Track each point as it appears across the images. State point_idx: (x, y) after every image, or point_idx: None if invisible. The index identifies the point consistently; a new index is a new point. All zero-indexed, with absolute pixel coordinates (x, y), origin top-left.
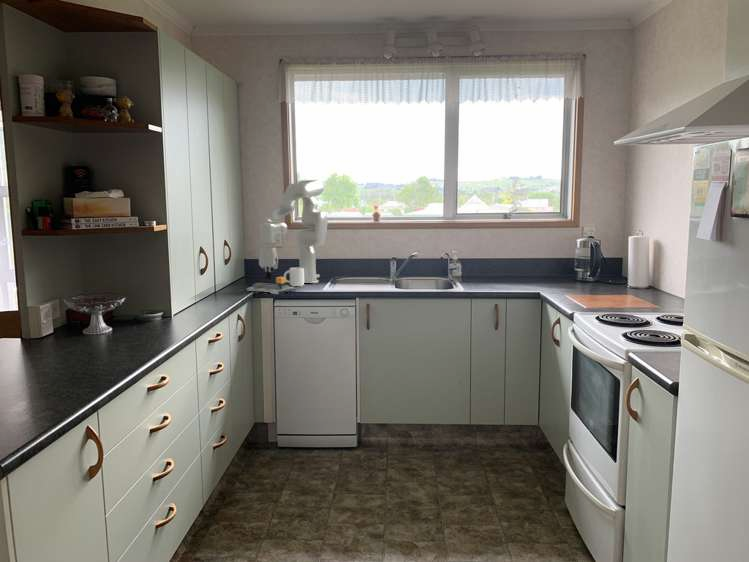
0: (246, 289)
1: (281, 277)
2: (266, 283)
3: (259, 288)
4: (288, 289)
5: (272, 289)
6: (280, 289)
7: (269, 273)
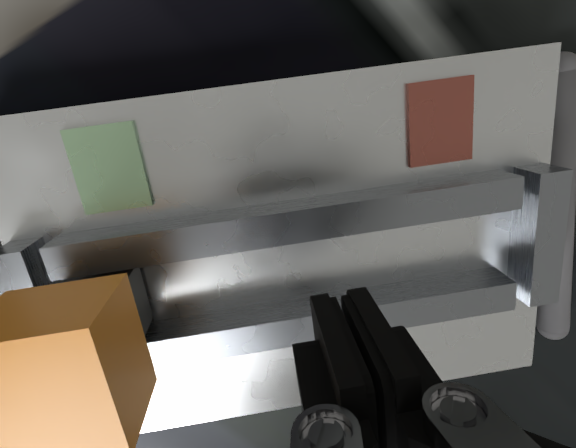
0: (567, 53)
1: (3, 405)
2: (429, 319)
3: (365, 110)
4: None
5: (95, 129)
6: (29, 219)
7: (333, 392)
